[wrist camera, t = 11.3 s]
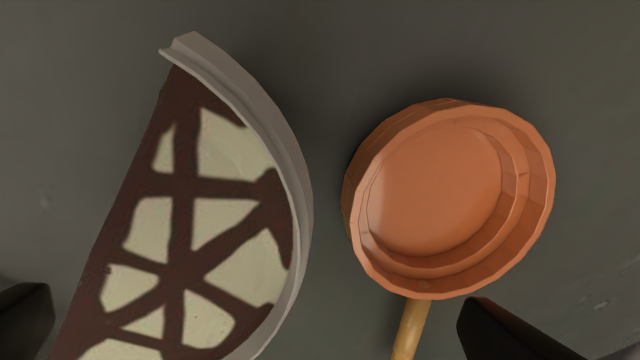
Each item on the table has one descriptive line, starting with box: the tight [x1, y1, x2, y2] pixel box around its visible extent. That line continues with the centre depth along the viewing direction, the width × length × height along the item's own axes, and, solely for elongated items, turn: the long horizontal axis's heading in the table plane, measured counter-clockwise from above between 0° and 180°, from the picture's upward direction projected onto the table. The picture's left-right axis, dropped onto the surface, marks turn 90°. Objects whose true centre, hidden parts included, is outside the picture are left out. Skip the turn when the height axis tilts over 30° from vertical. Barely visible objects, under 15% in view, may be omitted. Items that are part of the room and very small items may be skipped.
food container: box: [47, 31, 314, 360], centre depth 13 cm, size 12×6×10 cm, turn 149°
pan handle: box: [390, 280, 432, 360], centre depth 21 cm, size 1×9×1 cm, turn 172°
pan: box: [340, 98, 556, 300], centre depth 19 cm, size 11×11×3 cm
